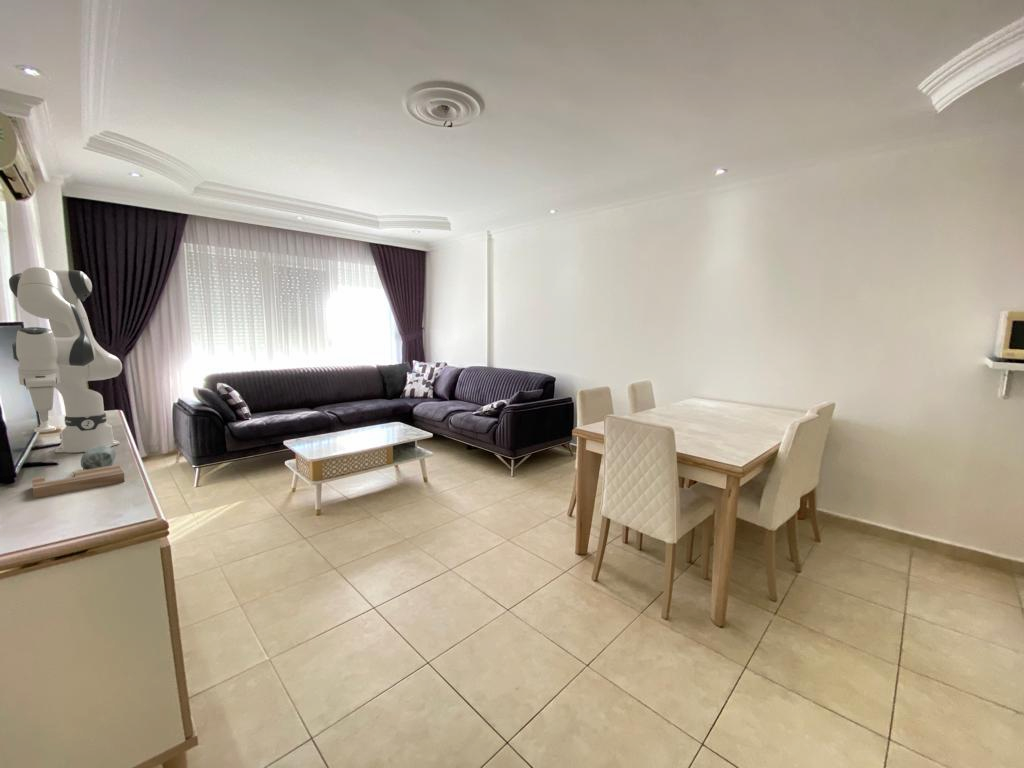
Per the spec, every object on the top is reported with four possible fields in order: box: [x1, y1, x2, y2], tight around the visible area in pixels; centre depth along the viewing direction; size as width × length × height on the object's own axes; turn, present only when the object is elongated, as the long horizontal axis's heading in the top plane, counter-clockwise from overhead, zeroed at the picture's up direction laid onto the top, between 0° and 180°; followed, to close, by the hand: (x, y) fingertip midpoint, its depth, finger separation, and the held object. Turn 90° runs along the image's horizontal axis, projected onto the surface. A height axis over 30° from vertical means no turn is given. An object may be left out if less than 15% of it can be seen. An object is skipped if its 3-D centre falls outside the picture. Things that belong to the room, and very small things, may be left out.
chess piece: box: [33, 420, 57, 433], centre depth 137 cm, size 5×5×10 cm
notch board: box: [31, 464, 125, 499], centre depth 136 cm, size 12×20×3 cm, turn 139°
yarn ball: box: [80, 446, 117, 470], centre depth 150 cm, size 14×10×10 cm
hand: (44, 419), depth 137 cm, fingers closed on chess piece
